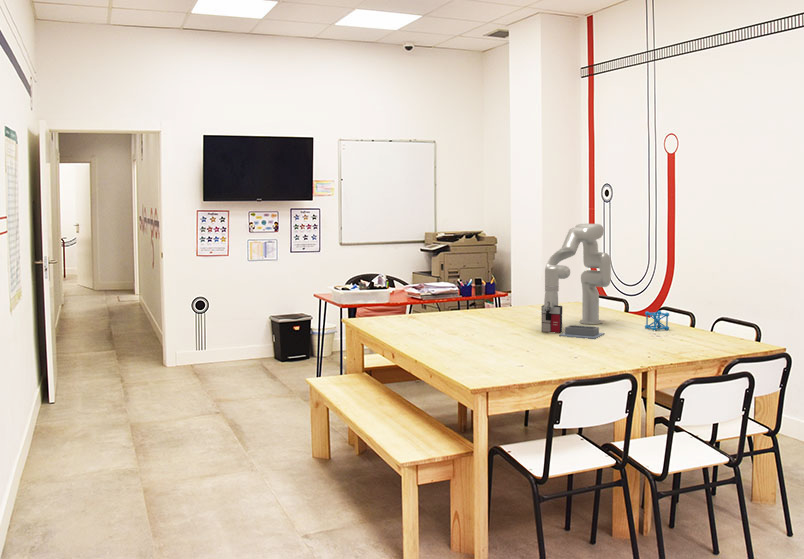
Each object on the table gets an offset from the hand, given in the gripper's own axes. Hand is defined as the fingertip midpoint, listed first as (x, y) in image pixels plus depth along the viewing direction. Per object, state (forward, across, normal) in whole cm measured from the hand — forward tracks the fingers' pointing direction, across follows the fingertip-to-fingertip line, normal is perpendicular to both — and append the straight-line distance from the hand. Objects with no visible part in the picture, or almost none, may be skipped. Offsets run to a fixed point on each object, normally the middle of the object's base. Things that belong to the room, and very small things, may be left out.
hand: (551, 319), depth 408 cm
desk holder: (+7, +2, +18) cm, 20 cm away
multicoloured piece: (+8, 0, 0) cm, 8 cm away
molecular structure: (+8, -34, +49) cm, 60 cm away
